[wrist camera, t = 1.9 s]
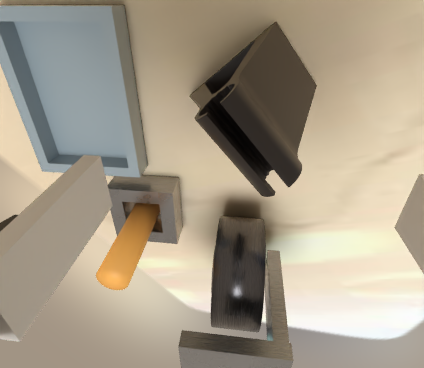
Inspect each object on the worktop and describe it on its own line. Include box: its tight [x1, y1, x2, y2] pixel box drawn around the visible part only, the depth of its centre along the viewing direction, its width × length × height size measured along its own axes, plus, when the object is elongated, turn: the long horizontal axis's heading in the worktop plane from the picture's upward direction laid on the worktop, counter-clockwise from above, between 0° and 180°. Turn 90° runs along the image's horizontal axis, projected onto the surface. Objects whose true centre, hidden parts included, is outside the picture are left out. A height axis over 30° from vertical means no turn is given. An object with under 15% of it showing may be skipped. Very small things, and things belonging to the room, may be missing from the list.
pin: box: [96, 203, 160, 290], centre depth 28 cm, size 3×3×11 cm
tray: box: [0, 5, 148, 178], centre depth 26 cm, size 14×10×2 cm
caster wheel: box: [179, 216, 293, 368], centre depth 28 cm, size 11×8×15 cm
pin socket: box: [108, 175, 183, 244], centre depth 31 cm, size 7×7×3 cm
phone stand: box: [190, 22, 316, 197], centre depth 20 cm, size 9×6×12 cm, turn 130°
